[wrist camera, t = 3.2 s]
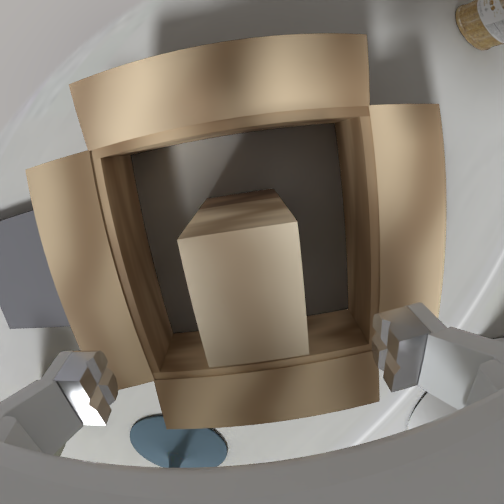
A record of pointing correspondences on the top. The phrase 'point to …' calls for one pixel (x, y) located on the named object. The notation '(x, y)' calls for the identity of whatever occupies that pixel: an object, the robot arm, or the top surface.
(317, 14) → the top surface
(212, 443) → the cocktail glass
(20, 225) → the mat
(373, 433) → the top surface
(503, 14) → the sprinkles bottle
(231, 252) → the block
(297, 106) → the carton
